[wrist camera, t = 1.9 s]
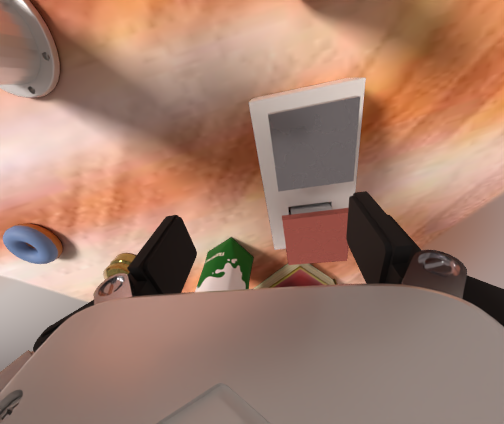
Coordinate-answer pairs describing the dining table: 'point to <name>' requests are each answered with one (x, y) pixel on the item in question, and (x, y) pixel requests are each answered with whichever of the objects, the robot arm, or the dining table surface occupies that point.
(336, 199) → the white button box
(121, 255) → the gold rounded piece
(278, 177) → the grey square push button
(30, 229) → the doughnut
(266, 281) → the hardcover book
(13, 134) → the dining table surface
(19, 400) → the robot arm
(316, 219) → the red square push button
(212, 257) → the milk carton
